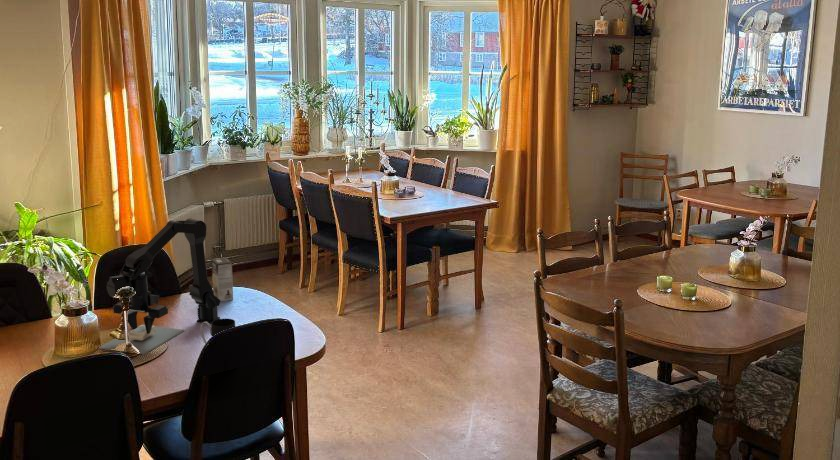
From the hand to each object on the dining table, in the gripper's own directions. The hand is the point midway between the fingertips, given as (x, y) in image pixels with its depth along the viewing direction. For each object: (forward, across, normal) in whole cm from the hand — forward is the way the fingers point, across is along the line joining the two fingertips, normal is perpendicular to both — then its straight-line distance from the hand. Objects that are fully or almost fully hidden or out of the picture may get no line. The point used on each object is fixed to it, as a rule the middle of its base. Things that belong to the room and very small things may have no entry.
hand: (142, 332), depth 273 cm
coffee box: (+3, -2, -51) cm, 51 cm away
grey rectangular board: (+3, 0, 0) cm, 3 cm away
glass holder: (+3, -37, +11) cm, 39 cm away
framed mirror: (+1, 0, 0) cm, 1 cm away
